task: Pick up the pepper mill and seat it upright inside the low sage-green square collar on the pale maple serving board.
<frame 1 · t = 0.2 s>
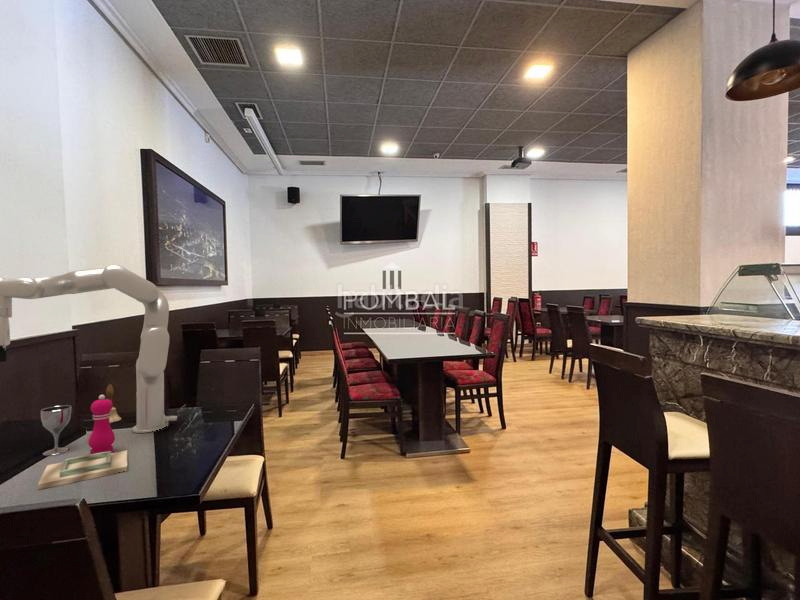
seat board: (87, 470, 118), on the table
wine glass: (56, 452, 134), on the table
pepper mill: (101, 453, 132), on the table
hand bell: (109, 421, 170), on the table
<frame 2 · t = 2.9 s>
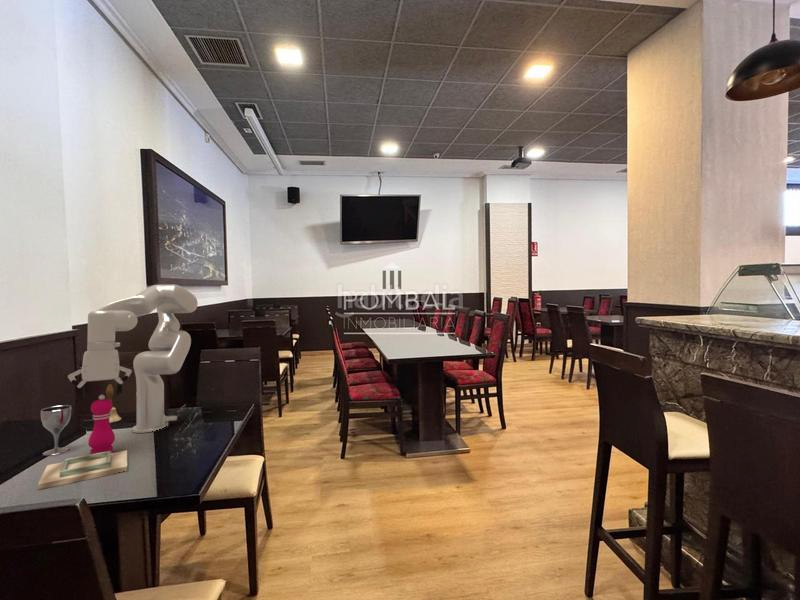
hand: (100, 397, 131), 19 cm above the table, tool pointing down, fingers open, 9 cm apart
nothing on the table moved.
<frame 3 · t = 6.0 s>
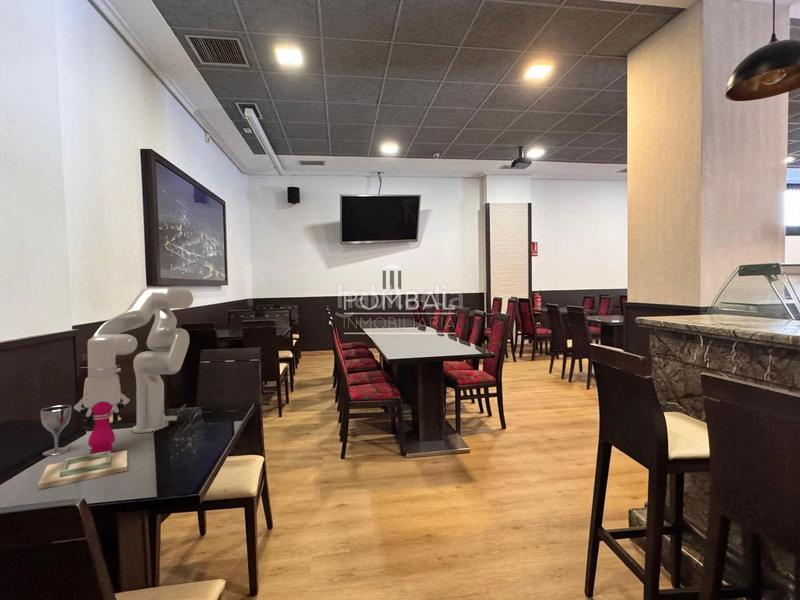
hand: (103, 424, 132), 9 cm above the table, tool pointing down, fingers open, 5 cm apart
nothing on the table moved.
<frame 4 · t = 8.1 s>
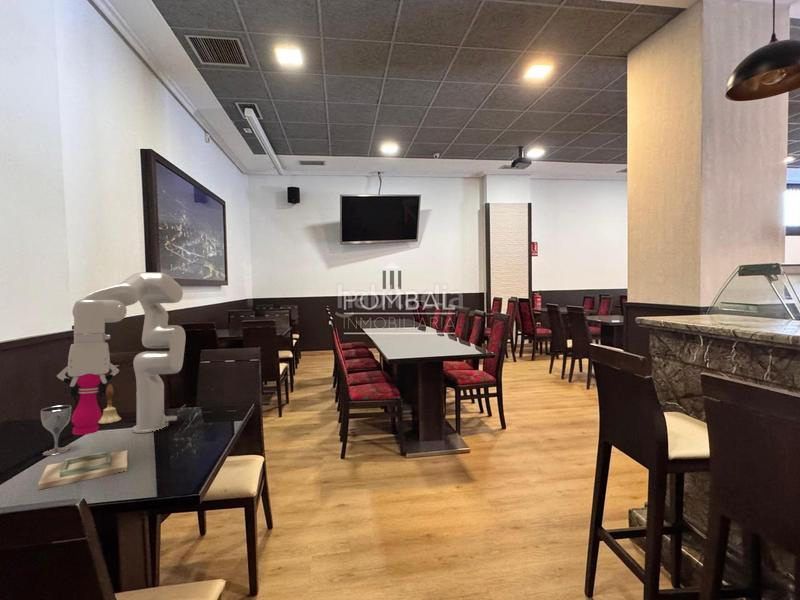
hand: (89, 396, 120), 22 cm above the table, tool pointing down, fingers closed on pepper mill, 5 cm apart
pepper mill: (85, 432, 119), point 11 cm above the table, touching gripper
everything else where it was.
when the fingers open (12 cm above the table, at t = 10.1 s): pepper mill stays where it is, resting on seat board.
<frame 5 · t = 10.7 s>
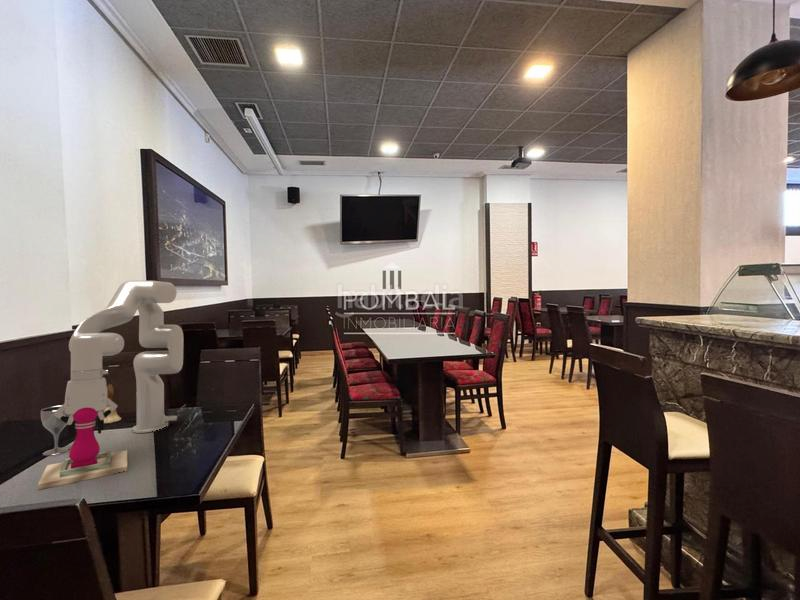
hand: (86, 434, 118), 11 cm above the table, tool pointing down, fingers open, 5 cm apart
pepper mill: (84, 467, 117), point 1 cm above the table, touching gripper, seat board
everything else where it was.
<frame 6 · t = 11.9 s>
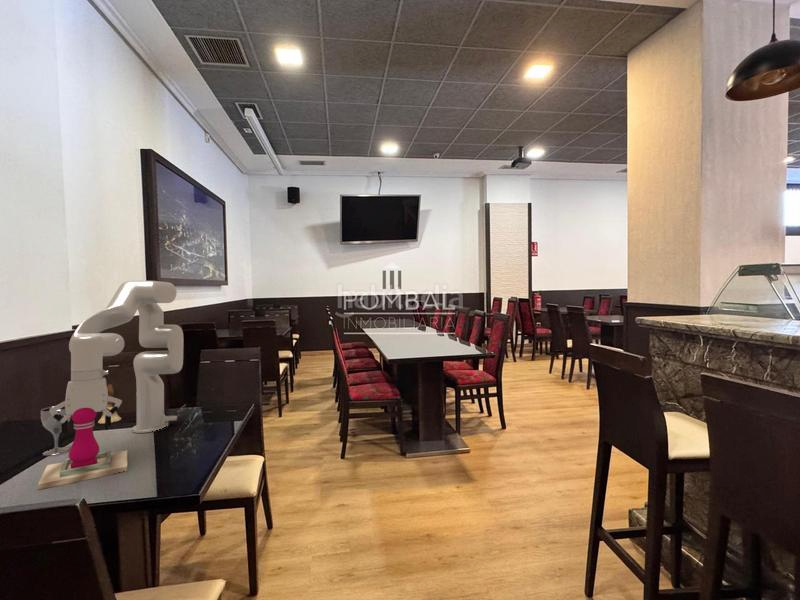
hand: (87, 431, 118), 12 cm above the table, tool pointing down, fingers open, 9 cm apart
pepper mill: (84, 467, 117), point 1 cm above the table, touching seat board
everything else where it was.
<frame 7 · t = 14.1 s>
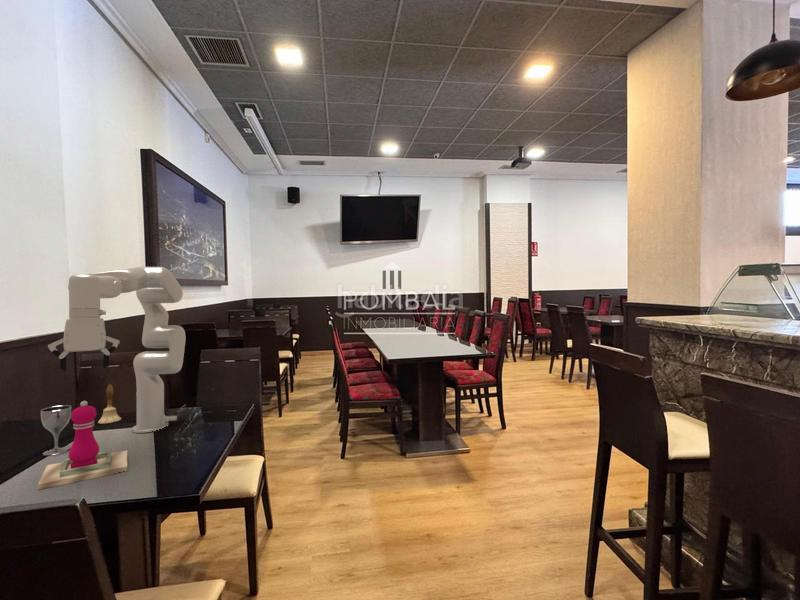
hand: (85, 369, 120), 31 cm above the table, tool pointing down, fingers open, 9 cm apart
nothing on the table moved.
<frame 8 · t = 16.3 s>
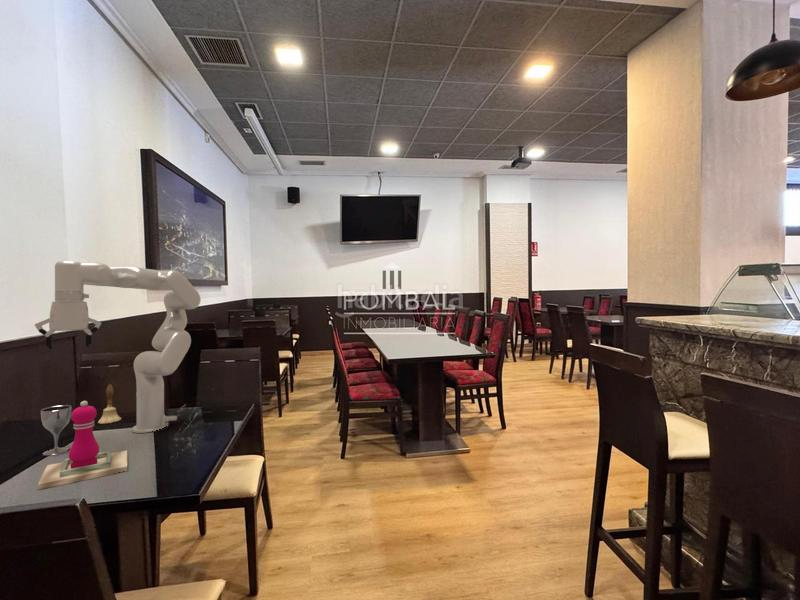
hand: (69, 347, 132), 36 cm above the table, tool pointing down, fingers open, 9 cm apart
nothing on the table moved.
at the end: pepper mill 1.0 cm off-centre on the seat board, point 1.3 cm above the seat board's base; pepper mill tilted 0°; the gripper is holding nothing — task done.
